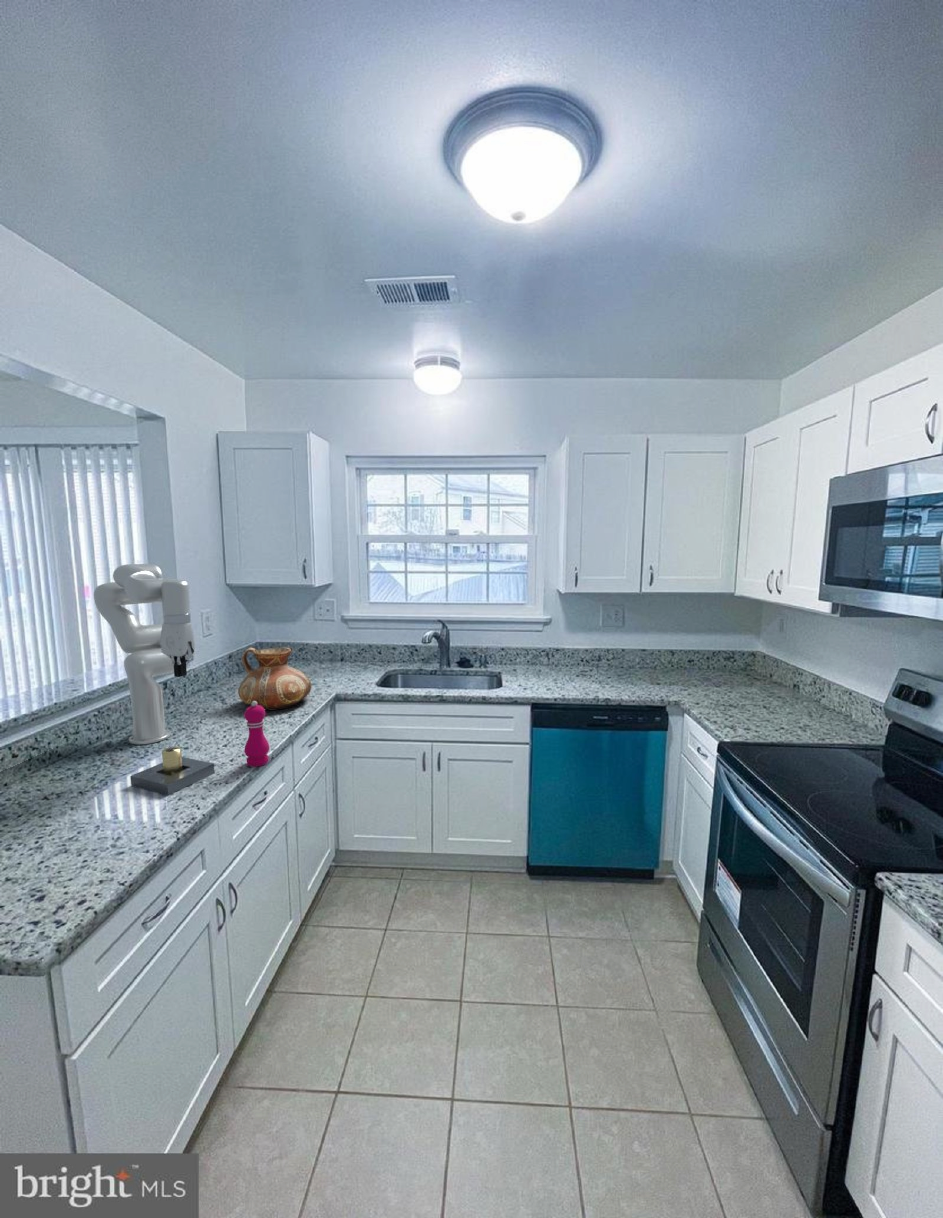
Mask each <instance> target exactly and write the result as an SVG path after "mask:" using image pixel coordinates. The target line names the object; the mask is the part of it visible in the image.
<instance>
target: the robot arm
mask: <svg viewBox="0 0 943 1218" xmlns="http://www.w3.org/2000/svg"><path fill="white" fill-rule="evenodd" d="M112 579H113V581H114V582H113V581H112V582H106V583H102V584H99V585H98V586H97V587H95V588H94V592H93V600H94V605H95V606H96V608H97V610H98V612H99V614H100V615H101V616H102V617H103V619H105V621H107V623H108V624H109V626H110V627H111V630H112V632H113V634H114V636H115V639H116V642H117V643H118V645H119V647H120V648H121V650H122V652H123V653H126V654H129V655H127V656H126V657H125V658H124V662H123V667H124V671H125V673H126V674H125V675H126V679H127V681H128V686H129V695H130V697H129V698H130V706H131V717H132V726H130V727H129V728H128V729H129V731H131V732H132V735H130V737H129V738H128V742H129V743H130V744H132V745H148V744H153V743H158V742H161V741H164V740H166V739H168V738H169V737H170V736H171V734H172V733H171V730H169V729H168V728H167V729H166V722H165V721H166V720H165V710H164V709H165V708H164V695H163V688H162V686H161V684H160V683H159V682H157V680H155V679H154V677H157V676H162V675H163V676H164V675H168V674H172V673H173V675H174V677H175V678H176V677H177V678H181V677H185V676H187V671H188V670H187V664H188V661H189V660H191V659H192V660H193V654H195V651H196V650H195V647H196V646H195V638H194V631H193V627H192V622H191V620H192V619H191V605H190V604H191V602H190V591H189V590H190V587H189V583H188V582H187V581H186V580H182V579H180V580H179V579H177V578H174V577H171V578H168V577H167V578H164V577H163V572H162V570H161V568H160V567H159V566H158V565H156V564H152V563H133V564H132V563H131V564H123V565H120V566H118V567H116V568H115V570H114V571H113V574H112ZM151 603H154V604H155V603H161V606H162V608H161V610H162V620H163V623H162V624H158V623H156V624H154V623H153V624H147V625H143V624H141V622H140V621H139V619H138V616H137V615H136V614H134V613H133V612H132V611H131V610H130V609H127V608H125V607H124V606H127V605H137V604H138V605H139V604H151Z"/></svg>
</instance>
